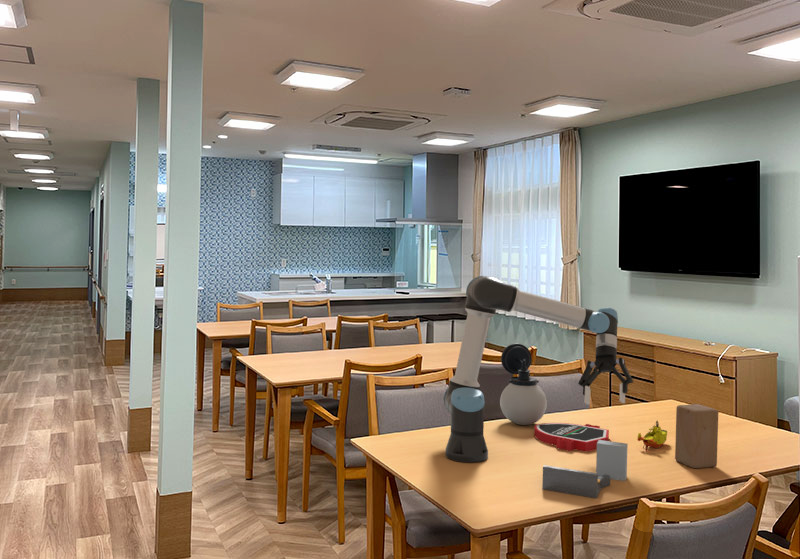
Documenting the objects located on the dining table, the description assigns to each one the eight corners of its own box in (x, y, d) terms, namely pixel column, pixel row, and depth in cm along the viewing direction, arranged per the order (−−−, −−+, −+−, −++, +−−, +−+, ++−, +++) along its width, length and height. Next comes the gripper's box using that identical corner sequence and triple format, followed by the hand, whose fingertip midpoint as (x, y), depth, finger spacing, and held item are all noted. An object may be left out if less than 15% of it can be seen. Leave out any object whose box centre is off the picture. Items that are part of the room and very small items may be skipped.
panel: (598, 472, 213) (598, 439, 212) (626, 477, 209) (627, 443, 208) (595, 476, 209) (596, 443, 208) (625, 481, 205) (625, 447, 204)
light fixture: (505, 430, 264) (507, 350, 264) (493, 416, 287) (494, 343, 286) (552, 430, 266) (554, 350, 265) (536, 416, 289) (537, 343, 288)
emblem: (550, 417, 274) (620, 429, 256) (550, 426, 274) (620, 439, 256) (517, 431, 250) (593, 446, 231) (517, 441, 250) (592, 456, 231)
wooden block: (693, 469, 218) (695, 411, 217) (673, 460, 227) (675, 404, 227) (718, 467, 220) (719, 409, 220) (697, 458, 230) (699, 403, 229)
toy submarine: (636, 449, 240) (636, 423, 239) (656, 441, 252) (657, 415, 252) (653, 453, 235) (653, 426, 235) (673, 444, 248) (674, 418, 247)
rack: (546, 474, 210) (546, 453, 210) (610, 484, 201) (610, 462, 201) (535, 488, 197) (536, 465, 197) (603, 499, 188) (604, 476, 188)
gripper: (643, 347, 234) (642, 404, 225) (581, 354, 251) (578, 407, 242) (633, 340, 230) (632, 398, 221) (571, 348, 246) (568, 401, 237)
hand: (604, 403), depth 231 cm, fingers open, 13 cm apart
